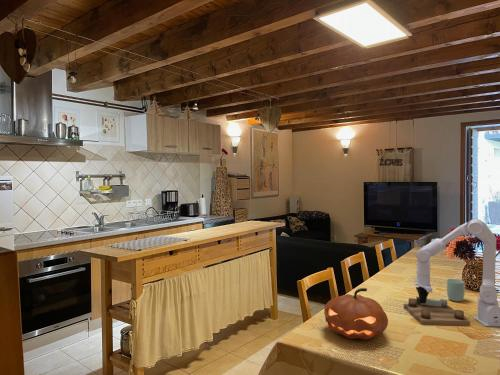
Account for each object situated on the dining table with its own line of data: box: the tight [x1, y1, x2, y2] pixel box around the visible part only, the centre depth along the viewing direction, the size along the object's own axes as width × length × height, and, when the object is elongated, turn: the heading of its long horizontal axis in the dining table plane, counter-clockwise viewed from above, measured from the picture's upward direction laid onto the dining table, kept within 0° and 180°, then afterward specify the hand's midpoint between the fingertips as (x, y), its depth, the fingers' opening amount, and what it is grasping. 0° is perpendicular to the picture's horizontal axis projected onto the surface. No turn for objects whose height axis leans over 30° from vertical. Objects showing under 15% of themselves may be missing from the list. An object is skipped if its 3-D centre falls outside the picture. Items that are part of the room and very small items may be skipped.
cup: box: [446, 278, 466, 303], centre depth 184 cm, size 8×8×10 cm
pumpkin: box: [323, 287, 389, 341], centre depth 145 cm, size 25×25×19 cm
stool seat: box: [403, 297, 471, 327], centre depth 163 cm, size 20×20×5 cm
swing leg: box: [415, 296, 448, 307], centre depth 171 cm, size 13×3×3 cm, turn 70°
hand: (422, 303), depth 171 cm, fingers closed, pressing on swing leg
